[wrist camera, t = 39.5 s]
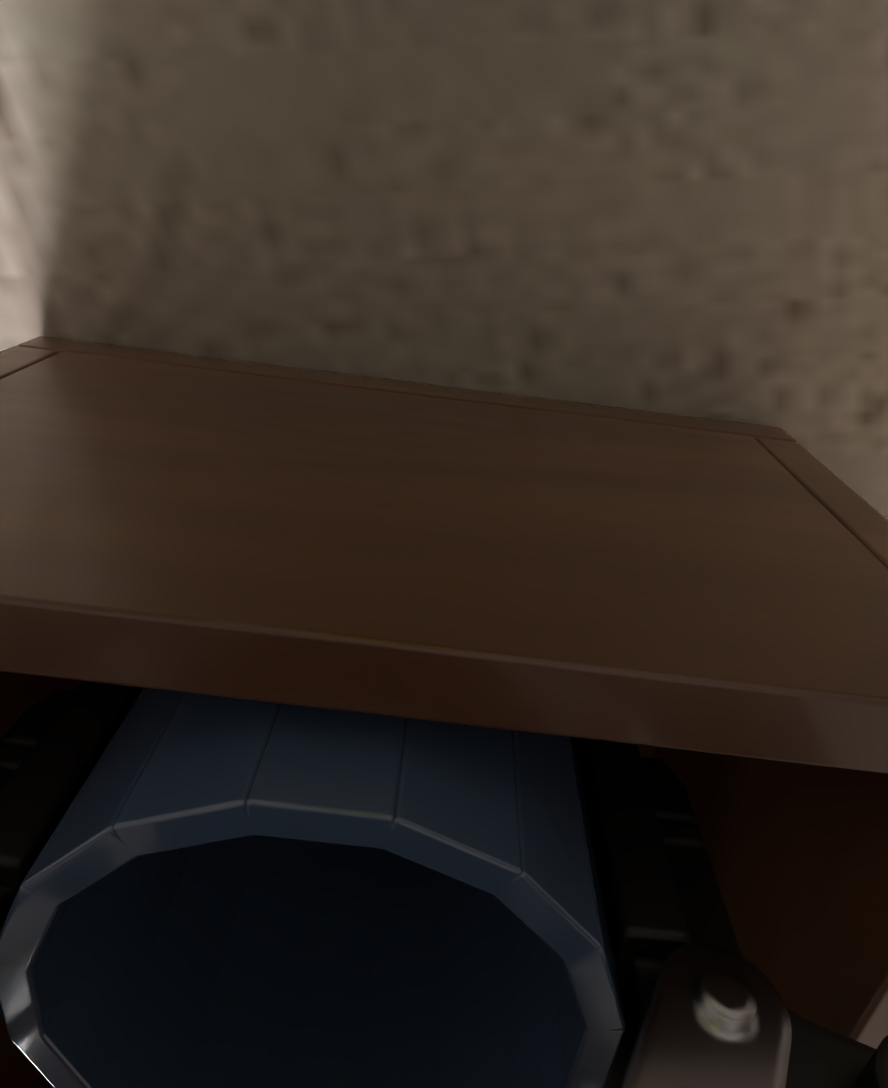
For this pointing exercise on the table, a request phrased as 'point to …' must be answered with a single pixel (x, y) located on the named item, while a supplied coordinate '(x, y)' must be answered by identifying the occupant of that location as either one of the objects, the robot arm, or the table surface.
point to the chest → (478, 600)
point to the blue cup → (315, 908)
